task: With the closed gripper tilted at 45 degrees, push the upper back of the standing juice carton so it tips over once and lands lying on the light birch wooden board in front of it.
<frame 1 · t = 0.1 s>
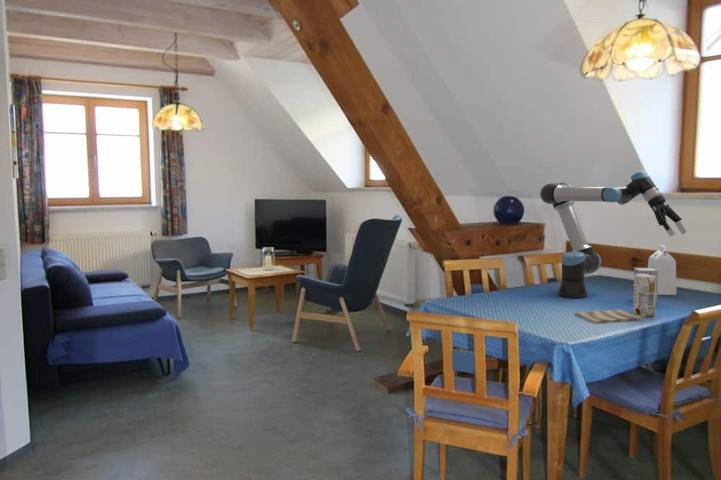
hand: (679, 234, 271), 36 cm above the table, tool tilted 35°, fingers open, 13 cm apart
juice carton: (643, 315, 259), on the table
wooden board: (608, 317, 255), on the table
supplement box: (644, 301, 287), on the table
milk: (660, 292, 308), on the table
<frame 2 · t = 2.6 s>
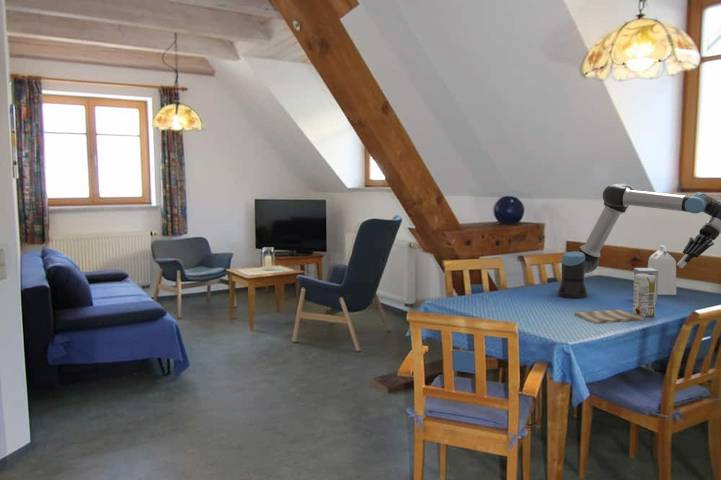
hand: (679, 266, 259), 22 cm above the table, tool tilted 45°, fingers closed
nothing on the table moved.
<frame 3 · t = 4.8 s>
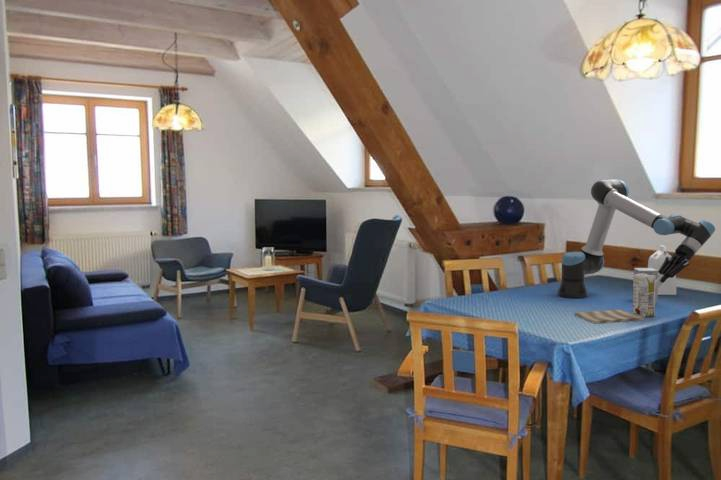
hand: (654, 286, 257), 13 cm above the table, tool tilted 45°, fingers closed
juice carton: (643, 315, 259), on the table, touching gripper
everything else where it was.
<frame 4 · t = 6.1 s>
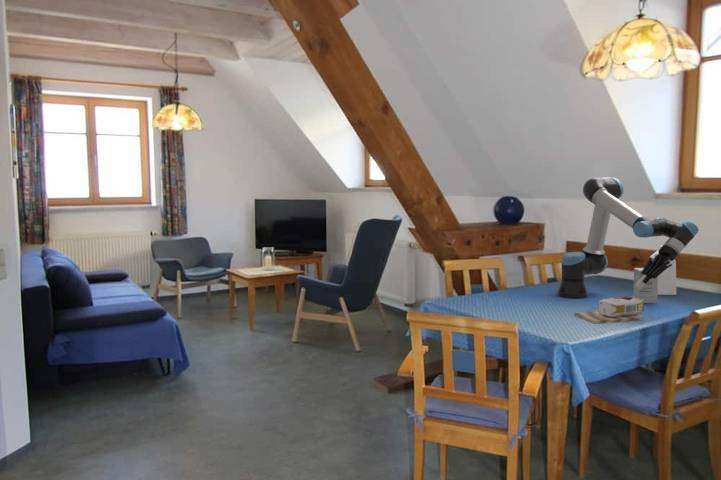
hand: (637, 287, 256), 13 cm above the table, tool tilted 45°, fingers closed
juice carton: (638, 304, 257), point 5 cm above the table, touching wooden board
everything else where it was.
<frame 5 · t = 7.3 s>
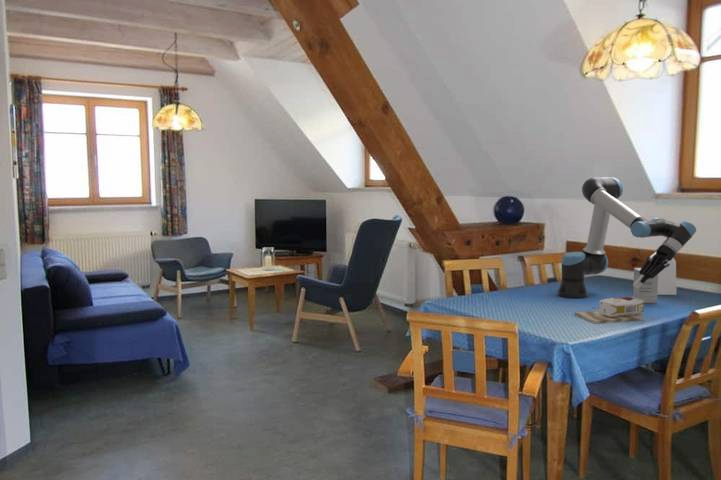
hand: (635, 287, 256), 14 cm above the table, tool tilted 45°, fingers closed
nothing on the table moved.
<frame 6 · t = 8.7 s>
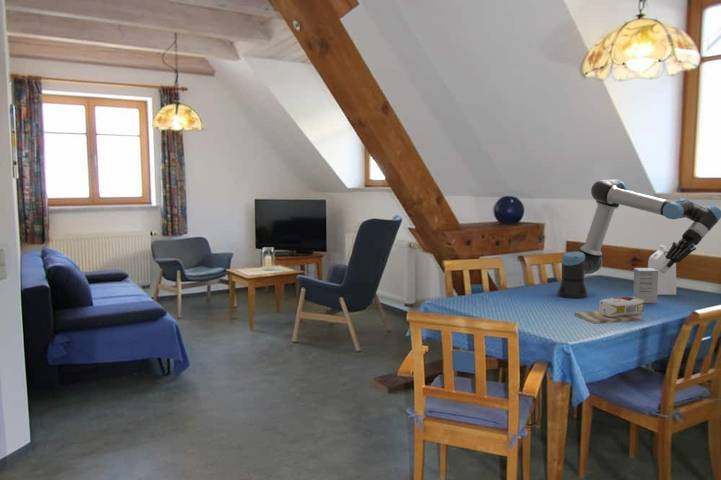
hand: (661, 271, 258), 20 cm above the table, tool tilted 45°, fingers closed
nothing on the table moved.
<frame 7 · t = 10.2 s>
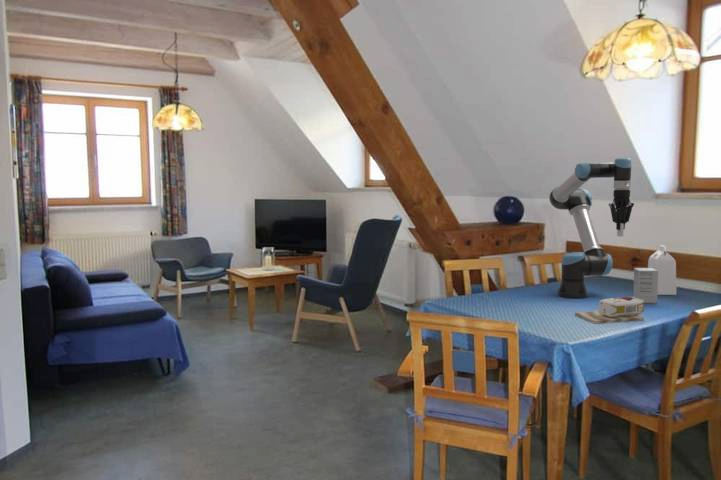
hand: (620, 236, 281), 34 cm above the table, tool pointing down, fingers closed
nothing on the table moved.
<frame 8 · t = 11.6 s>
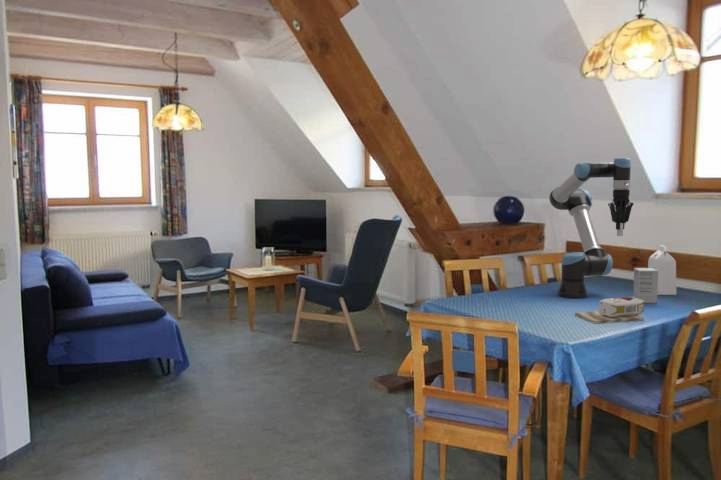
hand: (619, 235, 281), 34 cm above the table, tool pointing down, fingers closed
nothing on the table moved.
at the end: juice carton tilted 90°; juice carton touching wooden board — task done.
